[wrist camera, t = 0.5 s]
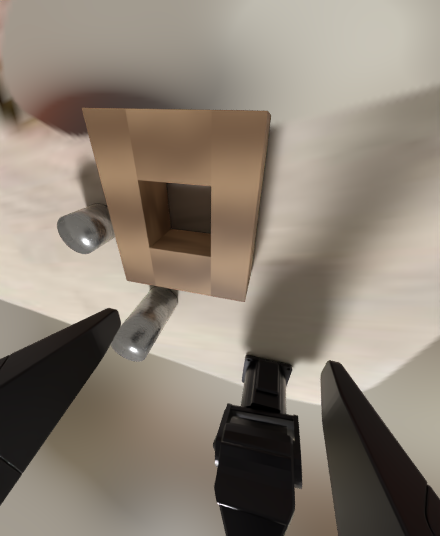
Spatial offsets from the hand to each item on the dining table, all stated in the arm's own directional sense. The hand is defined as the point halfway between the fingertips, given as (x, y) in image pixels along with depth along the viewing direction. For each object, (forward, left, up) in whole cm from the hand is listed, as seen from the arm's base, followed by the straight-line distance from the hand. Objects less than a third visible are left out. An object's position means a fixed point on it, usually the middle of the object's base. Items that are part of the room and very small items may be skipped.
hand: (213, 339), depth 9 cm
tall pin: (-12, +10, -14) cm, 21 cm away
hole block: (+1, +5, -14) cm, 15 cm away
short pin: (-2, +16, -14) cm, 21 cm away
